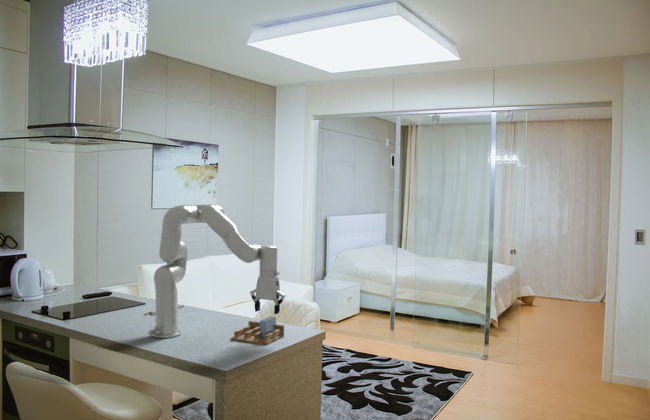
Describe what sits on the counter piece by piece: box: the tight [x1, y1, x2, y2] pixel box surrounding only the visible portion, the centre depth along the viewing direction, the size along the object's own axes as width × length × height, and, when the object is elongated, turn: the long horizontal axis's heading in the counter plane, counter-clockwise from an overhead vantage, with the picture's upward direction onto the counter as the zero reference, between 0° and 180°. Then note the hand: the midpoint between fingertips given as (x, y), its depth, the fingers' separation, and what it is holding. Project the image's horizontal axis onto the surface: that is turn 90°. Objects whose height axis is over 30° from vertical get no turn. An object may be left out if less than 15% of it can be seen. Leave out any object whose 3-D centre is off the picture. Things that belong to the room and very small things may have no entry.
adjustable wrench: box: [145, 304, 185, 317], centre depth 279 cm, size 25×6×2 cm, turn 145°
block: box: [259, 316, 277, 340], centre depth 227 cm, size 9×3×8 cm, turn 157°
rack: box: [230, 320, 285, 346], centre depth 228 cm, size 16×18×5 cm
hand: (266, 312), depth 226 cm, fingers open, 9 cm apart
